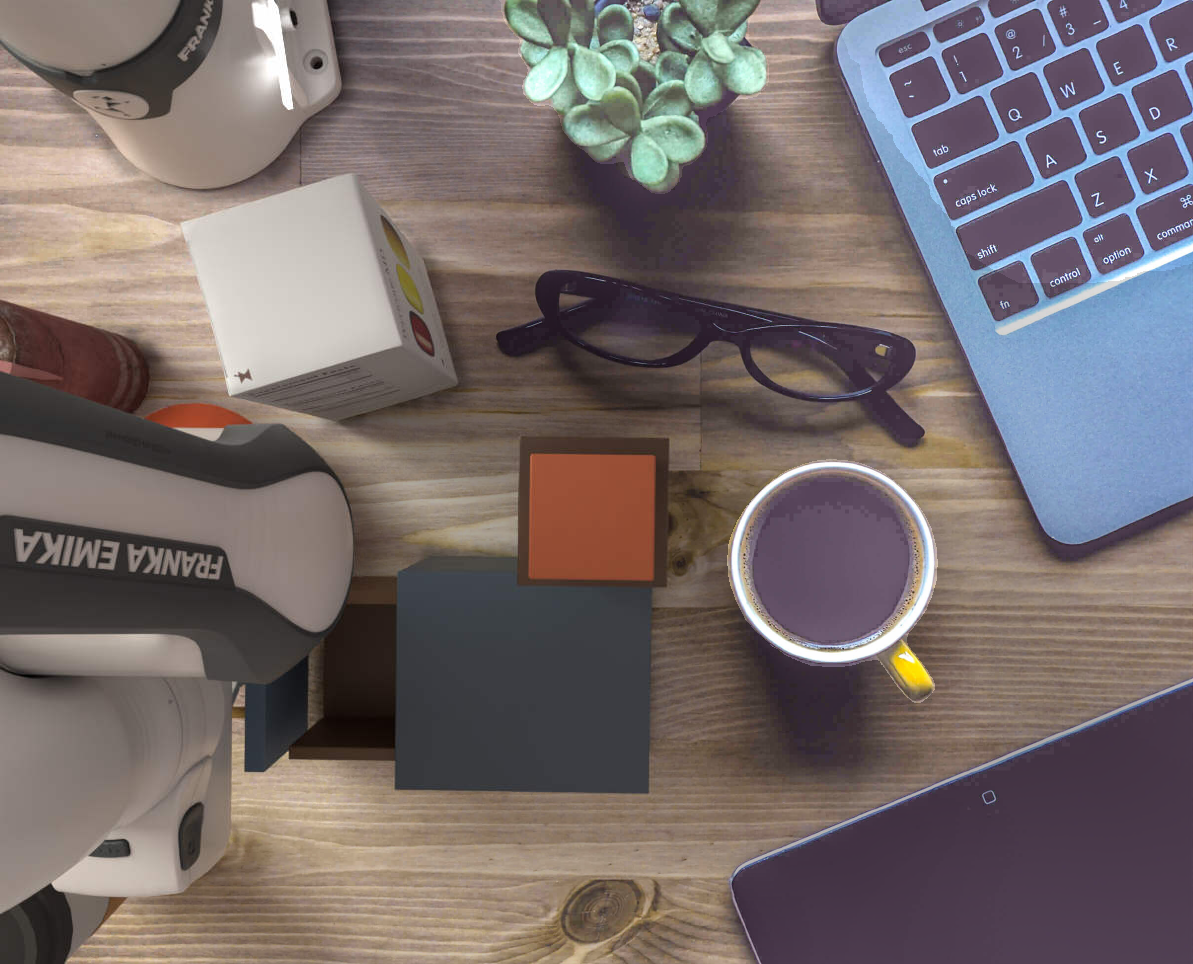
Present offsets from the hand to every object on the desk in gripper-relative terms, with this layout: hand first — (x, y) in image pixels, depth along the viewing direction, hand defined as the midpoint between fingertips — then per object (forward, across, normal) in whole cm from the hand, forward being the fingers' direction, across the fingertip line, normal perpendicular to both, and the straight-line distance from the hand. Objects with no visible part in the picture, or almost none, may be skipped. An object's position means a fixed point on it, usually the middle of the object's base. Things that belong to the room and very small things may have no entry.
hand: (237, 657), depth 57 cm
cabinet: (+4, 0, +19) cm, 19 cm away
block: (-21, -10, +23) cm, 33 cm away
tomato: (+4, -11, -2) cm, 12 cm away
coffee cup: (+4, +13, -9) cm, 17 cm away
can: (+4, -18, -10) cm, 21 cm away
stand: (+4, -10, +23) cm, 25 cm away
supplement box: (+4, -21, +8) cm, 23 cm away
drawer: (+3, 0, +7) cm, 7 cm away
